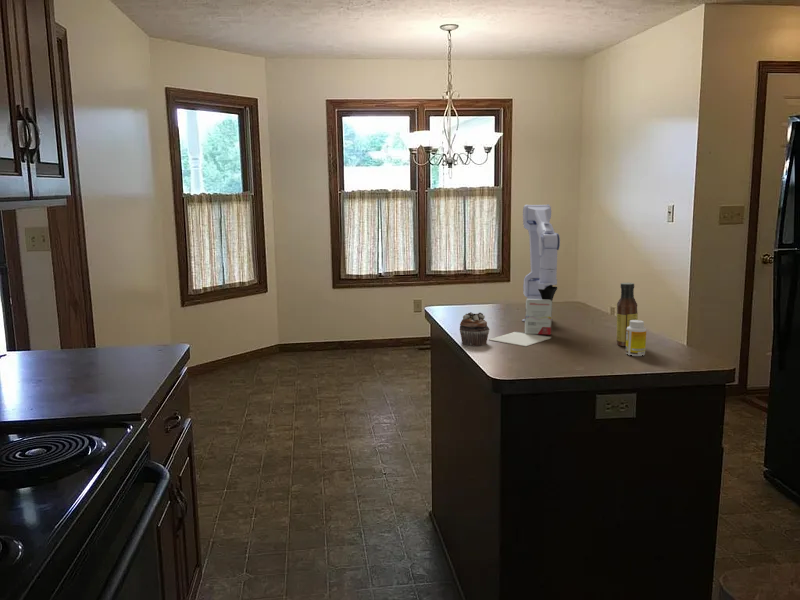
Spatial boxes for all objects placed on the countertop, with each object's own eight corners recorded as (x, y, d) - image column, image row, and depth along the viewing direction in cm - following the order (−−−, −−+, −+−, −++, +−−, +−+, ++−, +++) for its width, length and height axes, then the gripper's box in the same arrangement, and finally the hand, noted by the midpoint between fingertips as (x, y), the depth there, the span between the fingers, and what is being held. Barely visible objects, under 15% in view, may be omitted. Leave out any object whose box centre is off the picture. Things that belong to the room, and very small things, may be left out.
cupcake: (455, 345, 206) (456, 314, 204) (463, 339, 215) (464, 309, 213) (485, 347, 203) (486, 316, 201) (492, 341, 212) (492, 311, 210)
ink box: (549, 332, 225) (551, 298, 223) (551, 335, 220) (553, 300, 218) (524, 331, 225) (525, 297, 224) (525, 333, 221) (527, 299, 219)
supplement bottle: (649, 355, 192) (651, 321, 190) (635, 357, 189) (637, 323, 188) (634, 351, 197) (636, 318, 195) (621, 353, 194) (622, 320, 193)
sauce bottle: (637, 344, 206) (641, 282, 203) (636, 348, 201) (639, 284, 198) (616, 342, 209) (619, 281, 206) (613, 346, 204) (617, 283, 200)
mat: (515, 332, 225) (515, 331, 225) (551, 338, 216) (551, 337, 216) (488, 340, 213) (488, 339, 213) (525, 346, 204) (525, 345, 204)
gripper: (543, 266, 232) (542, 303, 234) (529, 270, 220) (528, 309, 222) (563, 267, 228) (562, 305, 230) (550, 271, 216) (548, 311, 218)
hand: (547, 307), depth 226 cm, fingers closed
